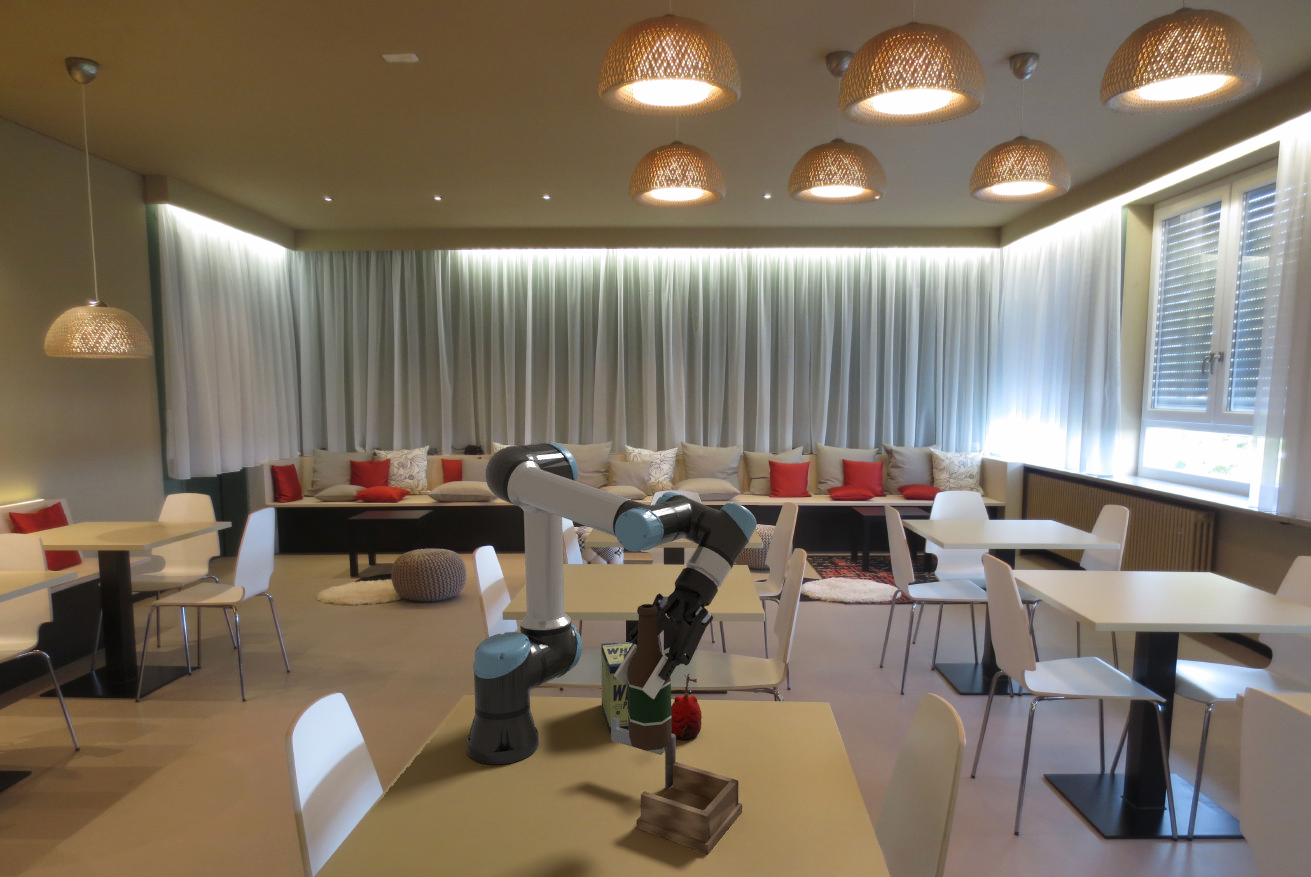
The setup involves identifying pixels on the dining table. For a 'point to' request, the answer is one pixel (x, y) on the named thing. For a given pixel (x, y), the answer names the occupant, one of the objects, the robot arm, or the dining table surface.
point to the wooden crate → (690, 805)
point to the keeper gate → (625, 735)
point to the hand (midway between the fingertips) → (633, 687)
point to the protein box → (614, 683)
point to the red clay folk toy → (686, 715)
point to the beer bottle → (644, 713)
